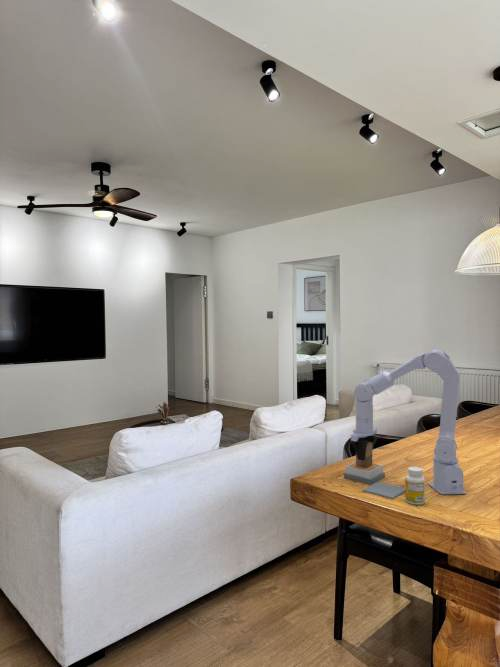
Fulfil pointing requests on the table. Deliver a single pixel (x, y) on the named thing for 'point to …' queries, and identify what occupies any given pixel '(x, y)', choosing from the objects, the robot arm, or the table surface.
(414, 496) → the supplement bottle
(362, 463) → the brown wooden beam
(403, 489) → the rubber mat
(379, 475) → the switch panel
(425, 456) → the table surface
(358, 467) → the button
